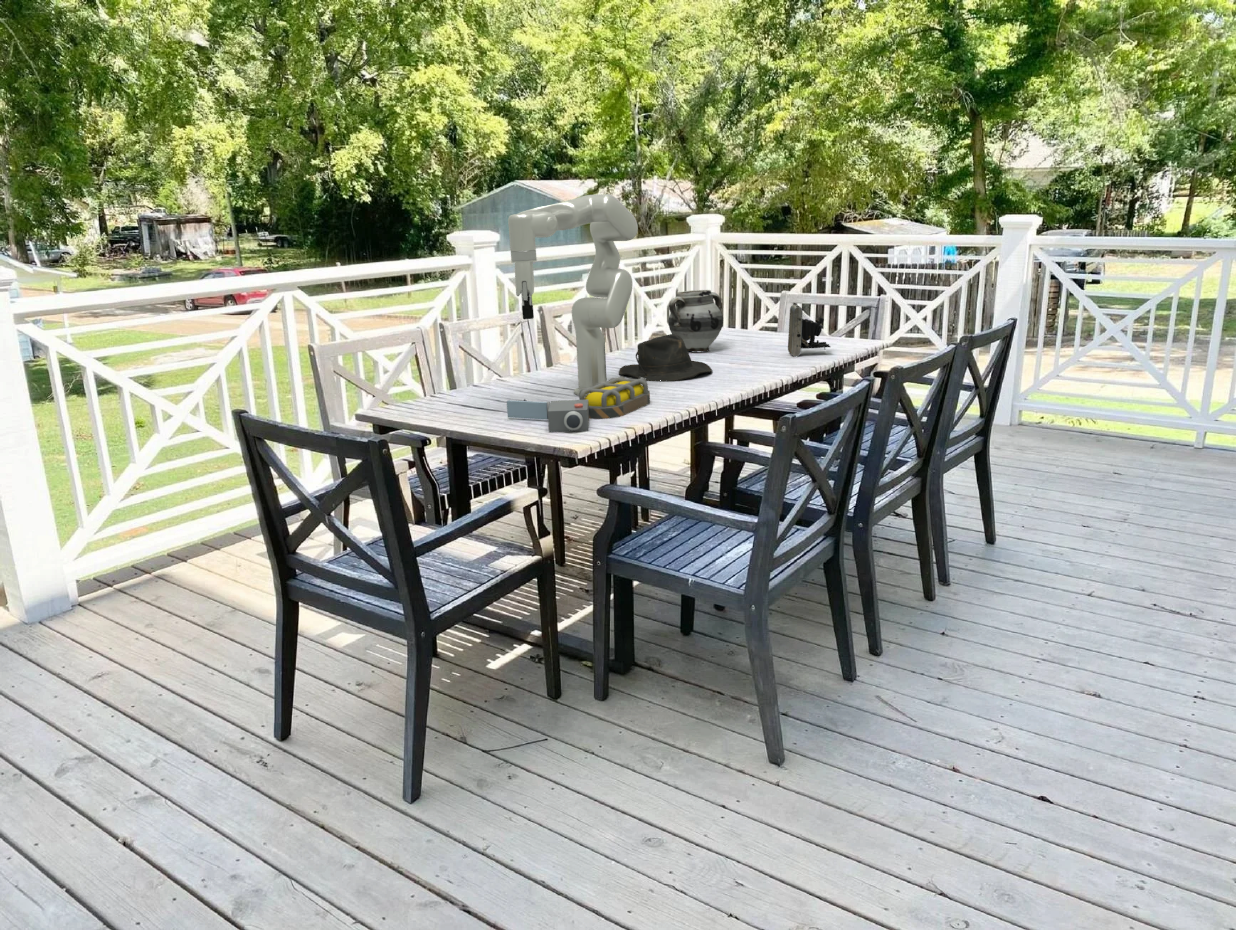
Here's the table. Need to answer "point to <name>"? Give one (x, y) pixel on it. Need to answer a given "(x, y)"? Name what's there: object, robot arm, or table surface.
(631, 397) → the cage light
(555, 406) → the camera housing
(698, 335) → the ceramic pot
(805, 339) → the vintage camera
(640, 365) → the hat
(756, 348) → the table surface
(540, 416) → the side door
